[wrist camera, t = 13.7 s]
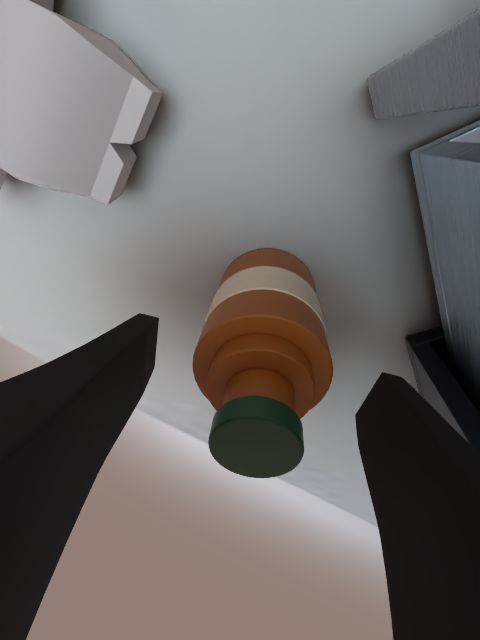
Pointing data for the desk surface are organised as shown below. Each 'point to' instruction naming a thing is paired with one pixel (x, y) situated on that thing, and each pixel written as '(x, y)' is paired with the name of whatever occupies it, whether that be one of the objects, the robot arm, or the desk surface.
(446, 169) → the drawer
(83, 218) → the desk surface
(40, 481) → the robot arm
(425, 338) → the cabinet
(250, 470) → the bottle
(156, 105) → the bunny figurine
